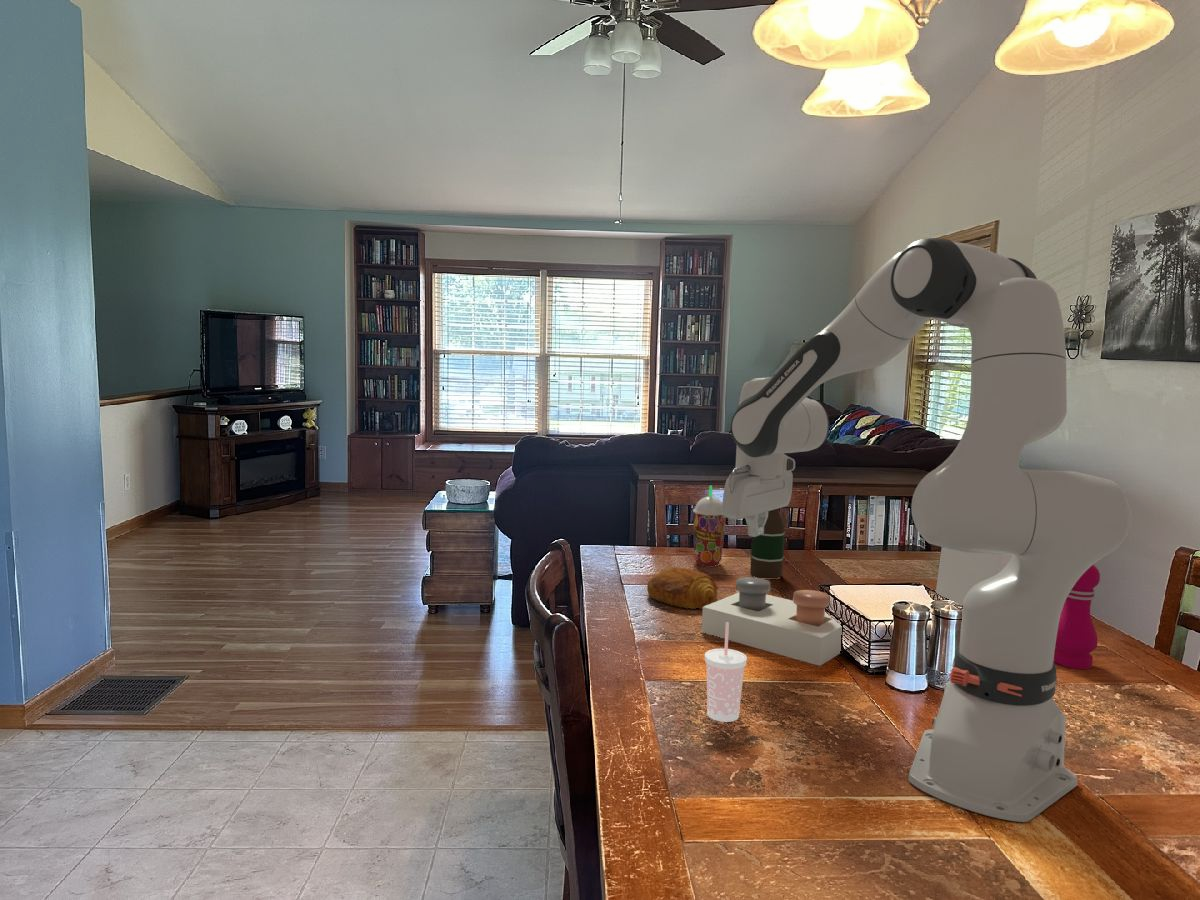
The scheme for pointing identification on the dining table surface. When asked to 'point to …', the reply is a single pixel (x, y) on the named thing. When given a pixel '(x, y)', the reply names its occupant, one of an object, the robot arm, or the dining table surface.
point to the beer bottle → (769, 548)
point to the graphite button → (752, 592)
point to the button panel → (774, 629)
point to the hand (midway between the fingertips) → (755, 535)
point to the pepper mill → (1077, 624)
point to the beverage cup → (724, 681)
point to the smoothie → (708, 530)
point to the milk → (966, 571)
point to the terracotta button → (811, 606)
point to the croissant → (683, 588)
